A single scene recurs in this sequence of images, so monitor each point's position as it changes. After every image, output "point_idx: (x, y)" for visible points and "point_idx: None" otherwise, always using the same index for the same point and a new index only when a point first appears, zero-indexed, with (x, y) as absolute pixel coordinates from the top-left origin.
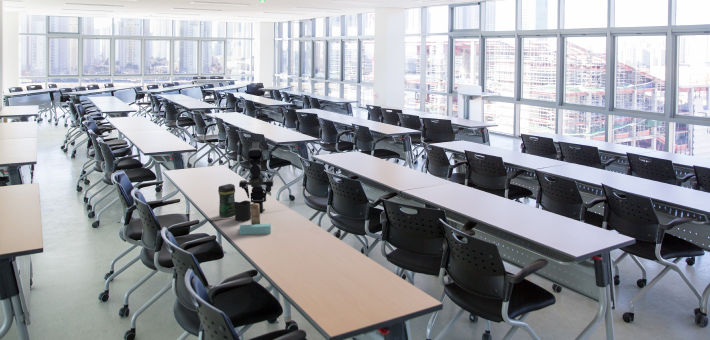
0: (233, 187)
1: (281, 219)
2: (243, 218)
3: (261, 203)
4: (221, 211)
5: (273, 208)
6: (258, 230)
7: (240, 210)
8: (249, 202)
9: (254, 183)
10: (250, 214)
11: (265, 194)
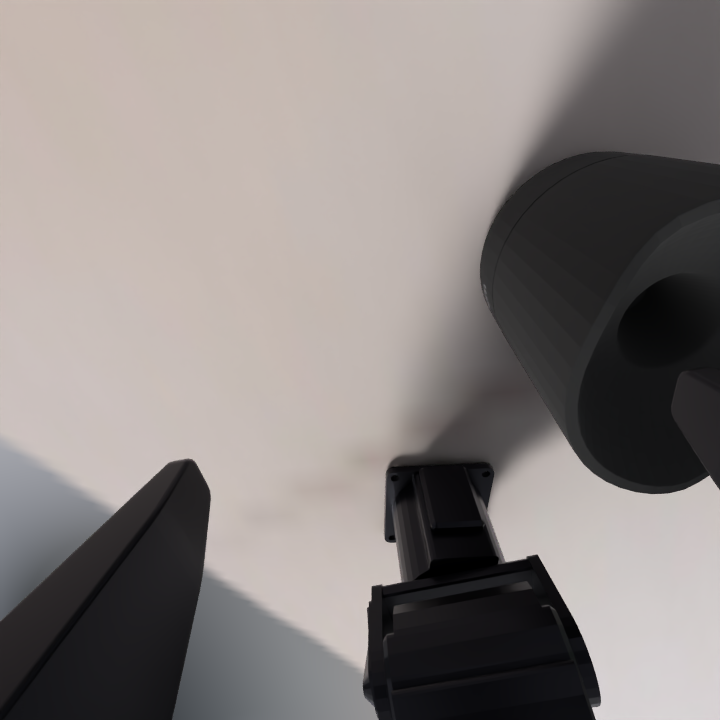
0: None
1: (81, 290)
2: (579, 161)
3: (411, 565)
4: None
5: (321, 570)
6: None
7: (715, 165)
8: (581, 422)
9: None
10: (493, 285)
11: (99, 554)
